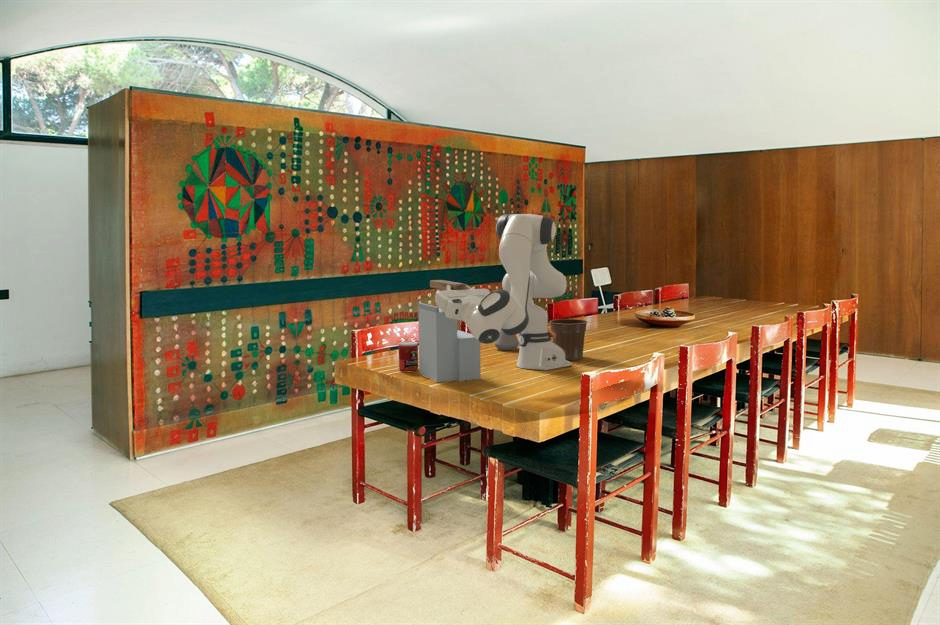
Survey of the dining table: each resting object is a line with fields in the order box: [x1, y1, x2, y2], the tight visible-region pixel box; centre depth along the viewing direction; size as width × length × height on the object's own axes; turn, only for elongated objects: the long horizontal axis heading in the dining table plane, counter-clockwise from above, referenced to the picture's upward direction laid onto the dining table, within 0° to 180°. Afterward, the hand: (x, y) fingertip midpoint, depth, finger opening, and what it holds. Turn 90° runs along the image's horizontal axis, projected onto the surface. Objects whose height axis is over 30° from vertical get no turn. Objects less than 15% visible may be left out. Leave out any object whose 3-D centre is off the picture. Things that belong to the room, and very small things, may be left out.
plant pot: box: [548, 318, 589, 361], centre depth 306 cm, size 16×16×16 cm
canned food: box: [398, 341, 419, 372], centre depth 284 cm, size 8×8×11 cm
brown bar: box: [429, 279, 467, 291], centre depth 258 cm, size 4×22×2 cm, turn 26°
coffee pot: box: [493, 329, 520, 351], centre depth 324 cm, size 21×12×15 cm, turn 26°
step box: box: [417, 302, 482, 383], centre depth 271 cm, size 17×19×28 cm
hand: (456, 285), depth 252 cm, fingers closed on brown bar, 4 cm apart
